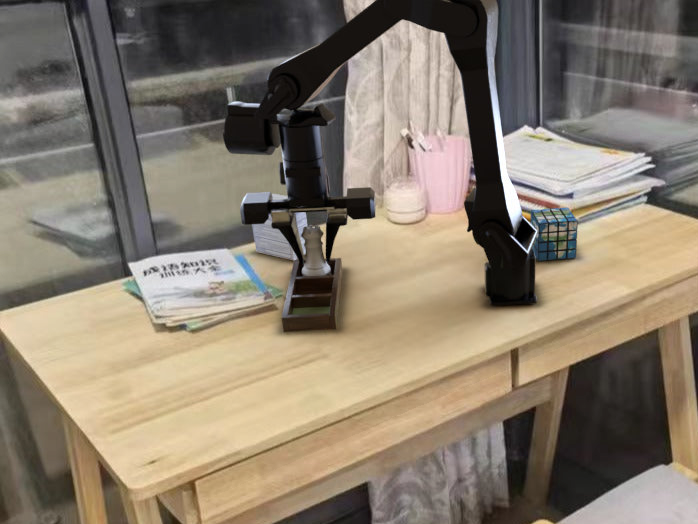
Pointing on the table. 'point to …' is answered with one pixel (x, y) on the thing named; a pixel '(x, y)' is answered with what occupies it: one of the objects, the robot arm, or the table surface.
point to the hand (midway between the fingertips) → (315, 262)
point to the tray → (312, 299)
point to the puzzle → (554, 234)
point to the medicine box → (277, 236)
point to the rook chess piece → (314, 253)
